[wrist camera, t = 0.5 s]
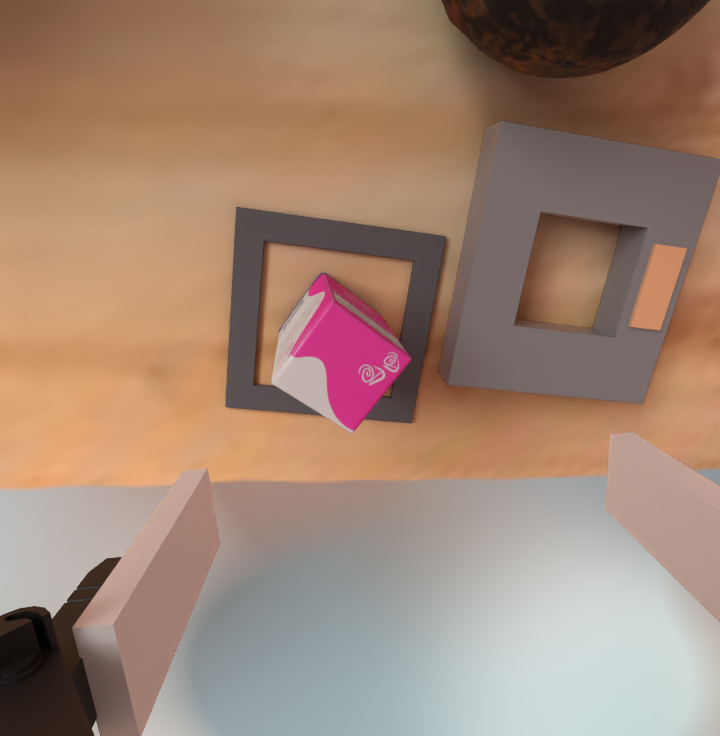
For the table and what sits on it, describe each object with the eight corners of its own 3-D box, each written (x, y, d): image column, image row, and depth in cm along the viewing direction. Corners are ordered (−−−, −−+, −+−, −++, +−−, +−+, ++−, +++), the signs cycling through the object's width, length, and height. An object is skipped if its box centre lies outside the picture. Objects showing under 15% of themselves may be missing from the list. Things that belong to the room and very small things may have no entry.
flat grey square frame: (237, 207, 34) (236, 207, 33) (444, 235, 36) (445, 236, 35) (226, 405, 38) (225, 407, 38) (410, 421, 40) (411, 423, 40)
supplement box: (339, 373, 38) (350, 439, 27) (277, 330, 37) (262, 381, 26) (384, 316, 37) (414, 360, 26) (322, 269, 36) (327, 295, 25)
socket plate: (485, 128, 34) (502, 120, 30) (691, 163, 36) (727, 159, 32) (437, 372, 39) (448, 386, 36) (619, 390, 41) (645, 405, 38)
